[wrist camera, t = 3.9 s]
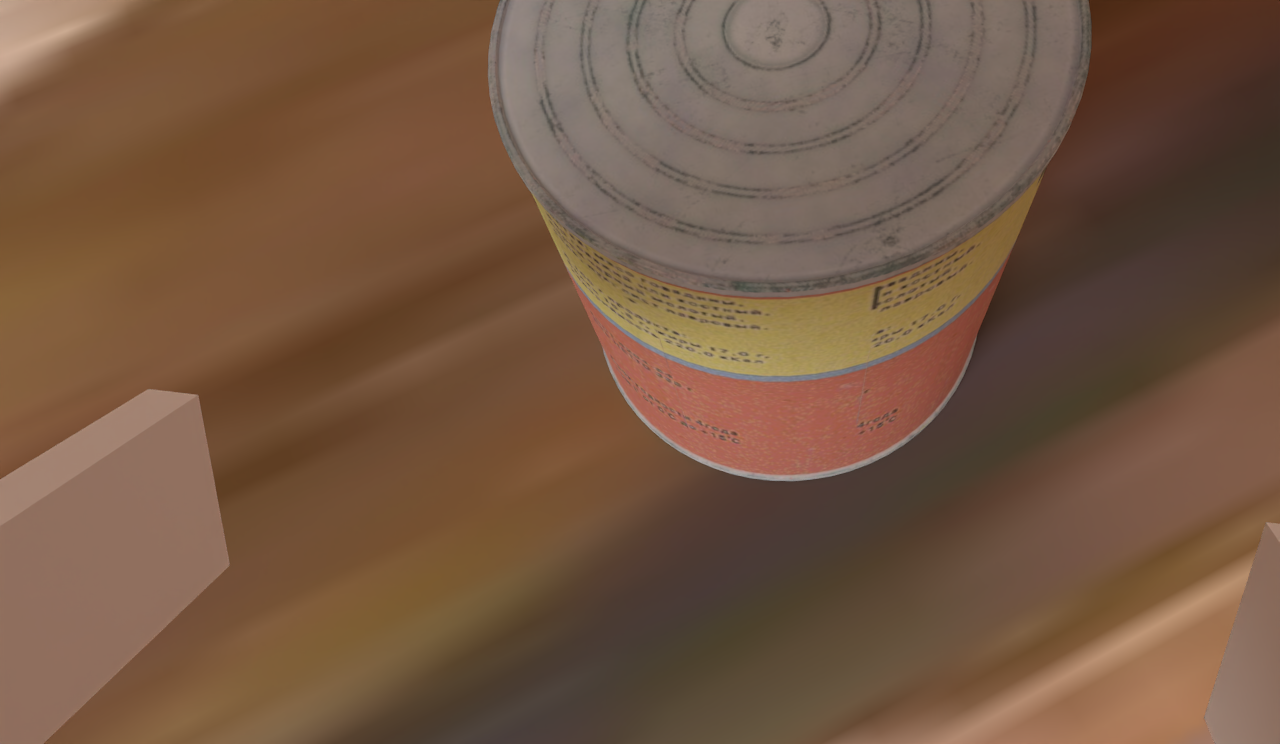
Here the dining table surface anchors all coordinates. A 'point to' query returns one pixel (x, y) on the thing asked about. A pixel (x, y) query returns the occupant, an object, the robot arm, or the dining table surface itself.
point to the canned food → (786, 200)
